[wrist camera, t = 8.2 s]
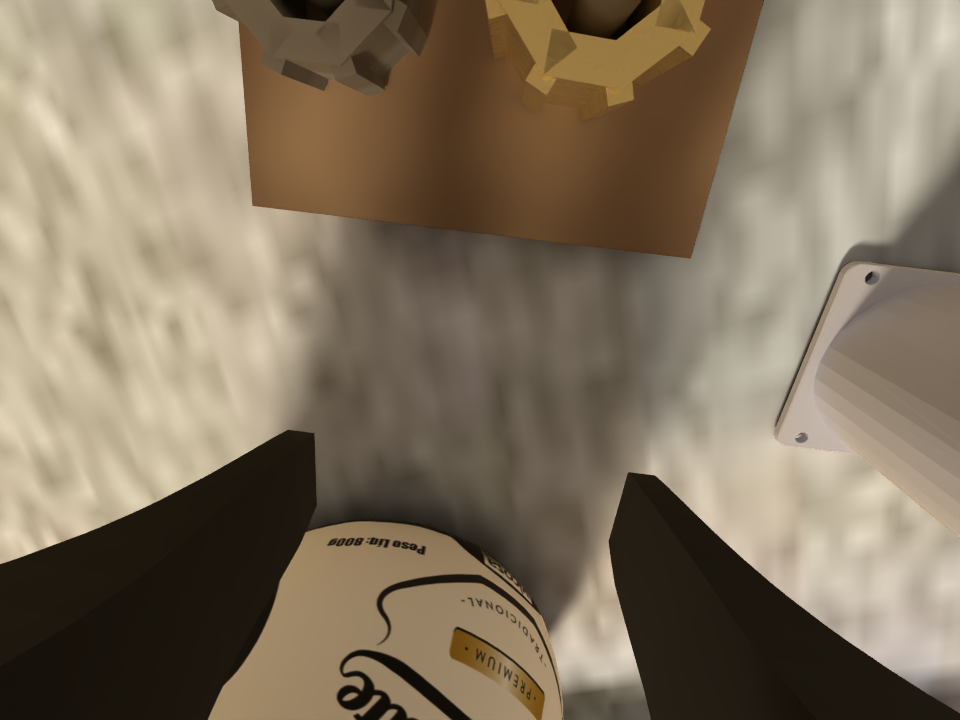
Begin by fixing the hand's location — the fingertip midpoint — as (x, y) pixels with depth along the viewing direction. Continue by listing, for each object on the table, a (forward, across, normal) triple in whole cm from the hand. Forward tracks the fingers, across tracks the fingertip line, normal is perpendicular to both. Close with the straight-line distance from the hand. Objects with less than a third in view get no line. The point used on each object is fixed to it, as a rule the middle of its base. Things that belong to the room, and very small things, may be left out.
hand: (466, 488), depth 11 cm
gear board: (+10, +1, -10) cm, 14 cm away
